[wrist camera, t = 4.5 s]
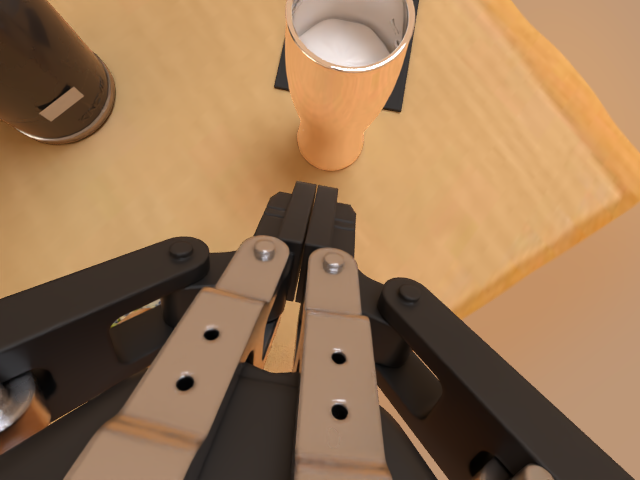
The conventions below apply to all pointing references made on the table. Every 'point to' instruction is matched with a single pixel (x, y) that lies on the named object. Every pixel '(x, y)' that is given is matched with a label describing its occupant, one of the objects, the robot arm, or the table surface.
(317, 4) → the copper cup
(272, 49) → the table surface
